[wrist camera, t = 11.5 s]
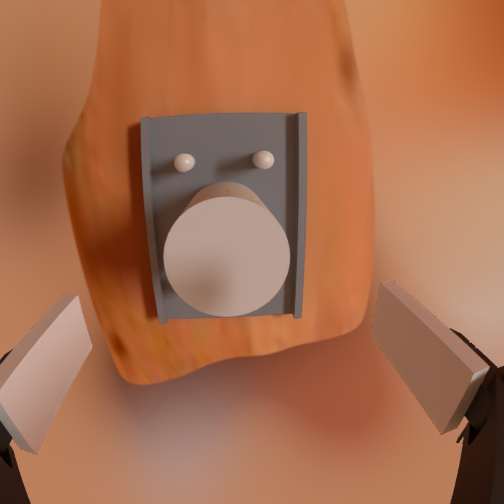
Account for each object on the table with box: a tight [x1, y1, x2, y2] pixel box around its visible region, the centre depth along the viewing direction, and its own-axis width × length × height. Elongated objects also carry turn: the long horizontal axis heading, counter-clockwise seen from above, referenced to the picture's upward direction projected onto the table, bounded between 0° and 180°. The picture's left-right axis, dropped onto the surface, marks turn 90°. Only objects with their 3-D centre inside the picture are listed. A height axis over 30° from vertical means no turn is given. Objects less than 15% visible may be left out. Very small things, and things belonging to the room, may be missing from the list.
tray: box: [141, 112, 307, 324], centre depth 29 cm, size 22×16×5 cm
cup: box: [164, 181, 290, 317], centre depth 25 cm, size 8×8×12 cm
